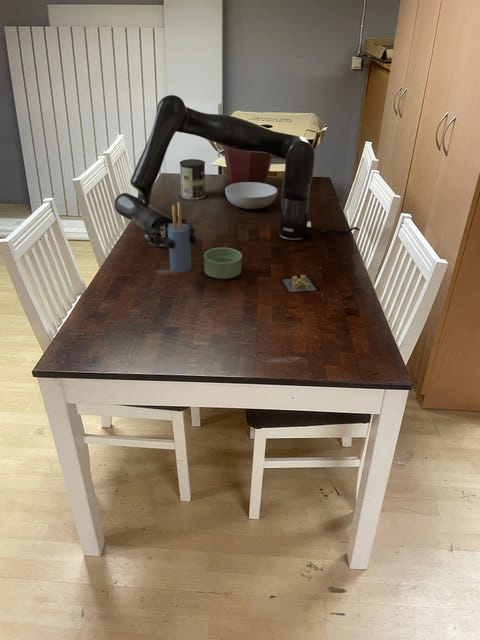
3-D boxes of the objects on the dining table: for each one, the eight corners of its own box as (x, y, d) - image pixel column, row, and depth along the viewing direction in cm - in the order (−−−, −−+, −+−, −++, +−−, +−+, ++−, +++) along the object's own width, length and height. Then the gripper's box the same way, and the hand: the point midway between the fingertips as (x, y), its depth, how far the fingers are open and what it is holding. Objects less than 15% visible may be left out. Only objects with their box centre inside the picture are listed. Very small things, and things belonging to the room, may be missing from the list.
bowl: (243, 264, 161) (243, 248, 158) (239, 281, 151) (240, 264, 149) (206, 262, 162) (206, 246, 159) (201, 279, 152) (201, 262, 149)
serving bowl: (285, 203, 212) (286, 187, 208) (259, 218, 196) (260, 200, 193) (242, 194, 221) (243, 178, 217) (214, 207, 206) (214, 190, 202)
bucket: (273, 178, 242) (276, 122, 229) (277, 193, 224) (281, 132, 211) (221, 177, 242) (221, 121, 229) (221, 192, 223) (221, 132, 210)
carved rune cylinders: (293, 289, 148) (293, 283, 147) (288, 281, 152) (288, 275, 151) (310, 288, 149) (310, 282, 148) (304, 280, 153) (305, 274, 152)
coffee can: (206, 192, 222) (205, 159, 215) (204, 200, 214) (204, 165, 206) (182, 191, 222) (181, 158, 215) (179, 199, 214) (178, 165, 206)
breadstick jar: (192, 263, 148) (190, 199, 138) (189, 273, 143) (186, 207, 133) (172, 262, 148) (168, 198, 138) (167, 271, 143) (163, 206, 133)
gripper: (131, 215, 145) (158, 235, 134) (176, 206, 153) (206, 224, 141) (133, 240, 149) (160, 261, 138) (177, 230, 157) (206, 249, 145)
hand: (183, 242), depth 139 cm, fingers closed on breadstick jar, 6 cm apart
